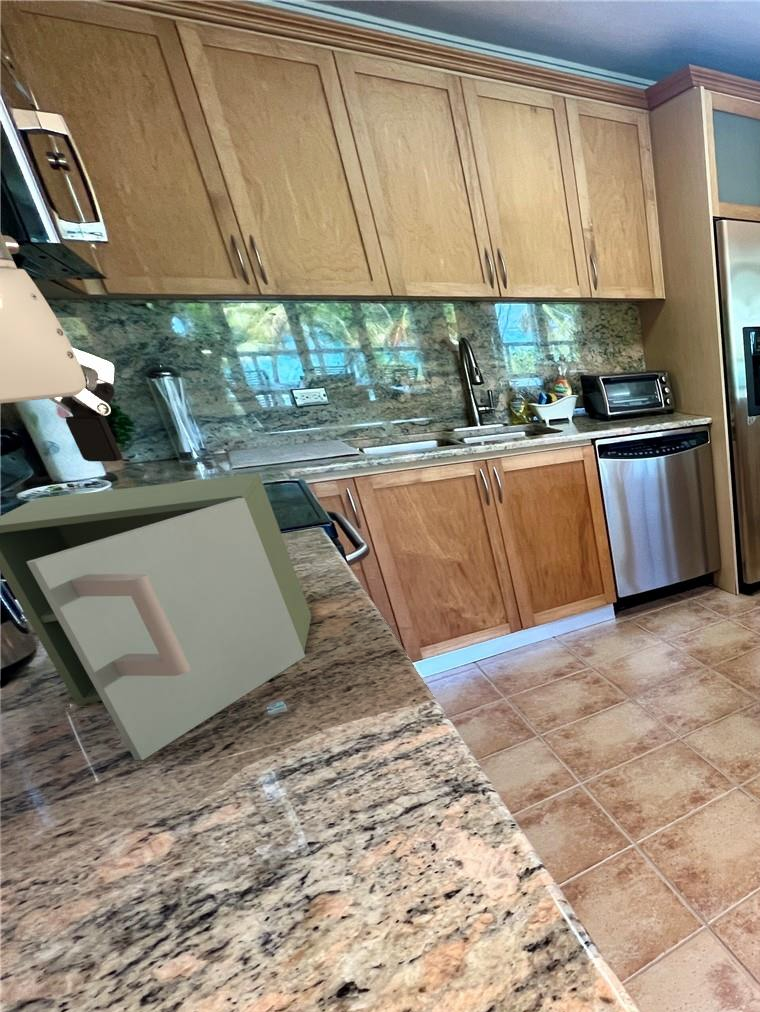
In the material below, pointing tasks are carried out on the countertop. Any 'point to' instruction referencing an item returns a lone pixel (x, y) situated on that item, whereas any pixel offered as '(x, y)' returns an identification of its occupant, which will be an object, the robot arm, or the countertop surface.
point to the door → (172, 619)
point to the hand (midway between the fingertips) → (44, 472)
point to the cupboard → (112, 513)
